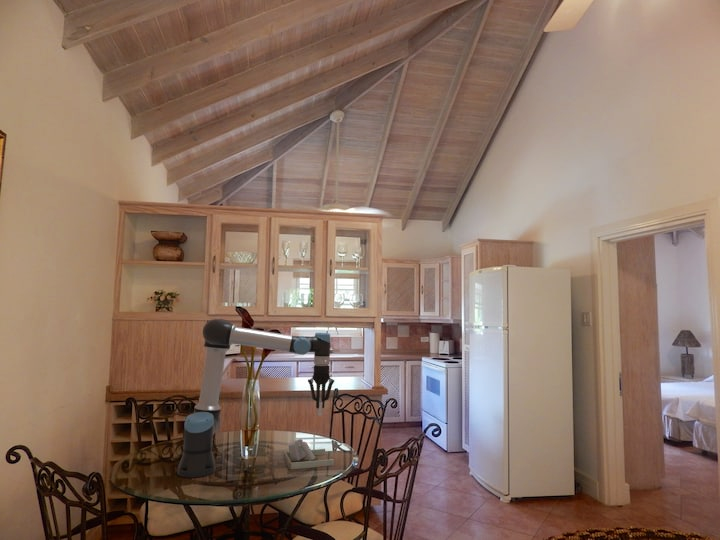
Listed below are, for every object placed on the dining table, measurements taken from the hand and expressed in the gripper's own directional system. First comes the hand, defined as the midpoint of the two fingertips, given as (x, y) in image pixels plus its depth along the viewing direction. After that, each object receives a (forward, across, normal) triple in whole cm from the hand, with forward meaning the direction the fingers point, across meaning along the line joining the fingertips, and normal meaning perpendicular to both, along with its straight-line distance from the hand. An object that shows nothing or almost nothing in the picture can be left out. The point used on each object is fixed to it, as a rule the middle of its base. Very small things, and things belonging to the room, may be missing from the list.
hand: (319, 415), depth 208 cm
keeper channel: (+20, -6, -4) cm, 21 cm away
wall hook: (+20, -7, -2) cm, 21 cm away
